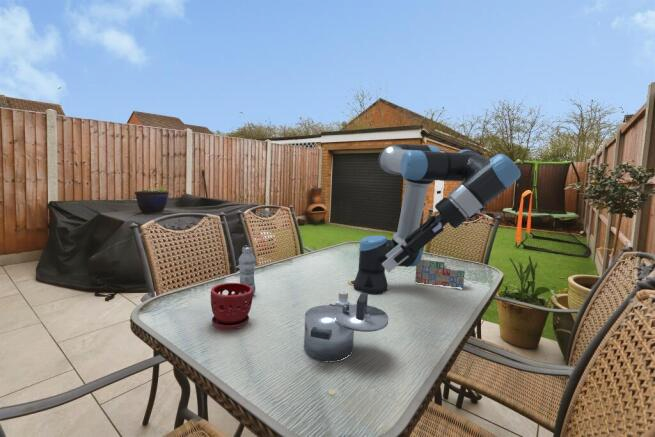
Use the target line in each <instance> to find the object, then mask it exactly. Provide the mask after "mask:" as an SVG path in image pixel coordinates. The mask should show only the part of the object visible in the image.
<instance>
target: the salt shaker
mask: <svg viewBox="0 0 655 437" xmlns="http://www.w3.org/2000/svg"><path fill="white" fill-rule="evenodd" d="M348 298H349V292H348V291H346V290H340V291H338V300H336V301H335V304H334V305H340V306H343V305H344V304H347V305H351V301H349V300H348Z"/></svg>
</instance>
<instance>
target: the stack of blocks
mask: <svg viewBox="0 0 655 437" xmlns="http://www.w3.org/2000/svg"><path fill="white" fill-rule="evenodd" d="M465 272H466V271H465V268H464V267H463V266H462V267H460V266H452V265H445V259H444V258H436V257H426V256H425V257H424V256H422V258H421V261H420V262H419V264H418V265H416V266H415V277H414V278H415V279H414V280H415V281H414V283H415V282H417V283H424V284H432V285H443V286H451V287H461V288H463V289H464V286H465V284H464V283H465V274H466V273H465Z"/></svg>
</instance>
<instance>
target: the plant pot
mask: <svg viewBox="0 0 655 437" xmlns="http://www.w3.org/2000/svg"><path fill="white" fill-rule="evenodd" d="M224 291H227V294H223V292H224ZM245 291H246V293H245ZM233 292H234V293H233ZM240 292H241V293H242V294H239V293H240ZM253 296H254V295H253V288H252V287H251V286H249V285H247V284H242V283H240V282H226V283H220V284H217V285H215V286H213V287H212V288H211V290H210V307H211V312H212V314H213V316H212V317H211V323H212V324H213V325H214V326H215V327H216V328H217V329H221V330H235V329H238V328H242V327H243V326H245V325H246V324H247V323H248V322H249V320H250V315H249V313H250V311H251V309H252V304H253V299H254V298H253Z"/></svg>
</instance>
